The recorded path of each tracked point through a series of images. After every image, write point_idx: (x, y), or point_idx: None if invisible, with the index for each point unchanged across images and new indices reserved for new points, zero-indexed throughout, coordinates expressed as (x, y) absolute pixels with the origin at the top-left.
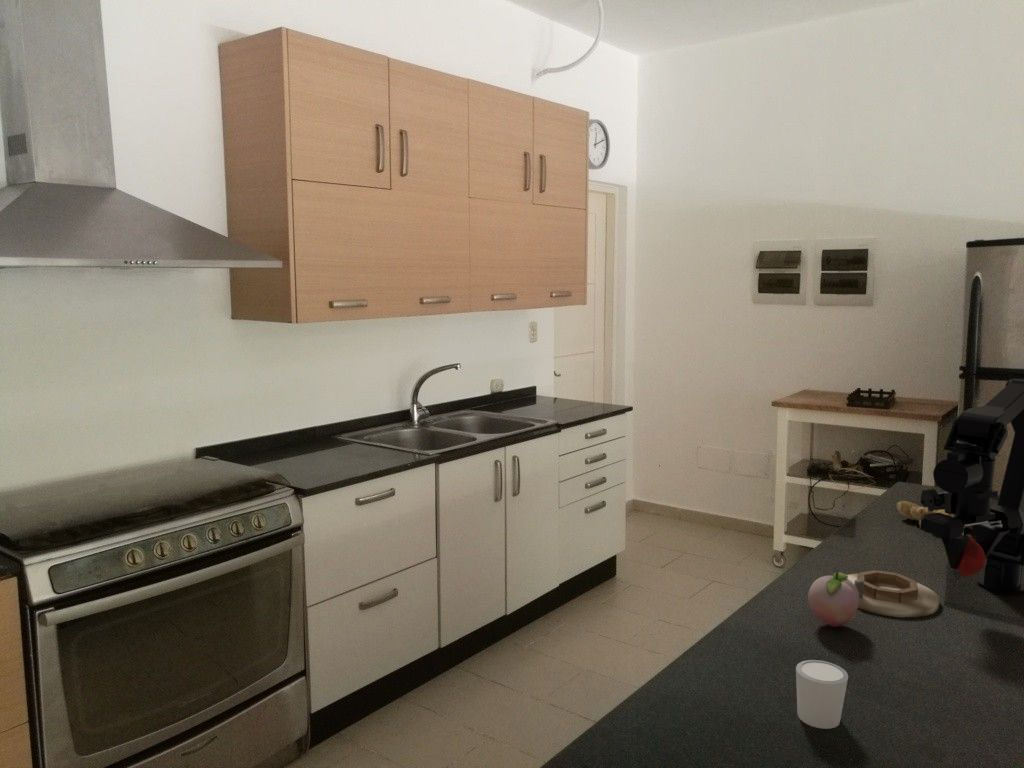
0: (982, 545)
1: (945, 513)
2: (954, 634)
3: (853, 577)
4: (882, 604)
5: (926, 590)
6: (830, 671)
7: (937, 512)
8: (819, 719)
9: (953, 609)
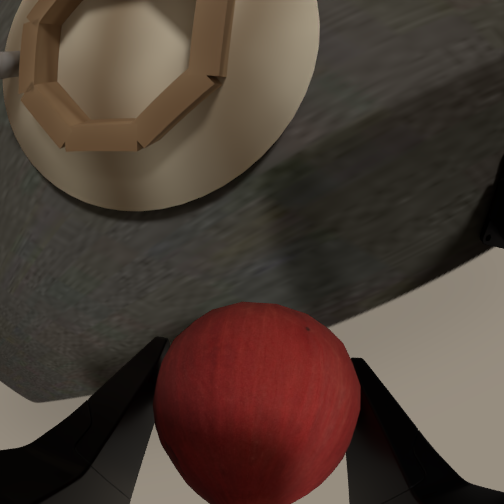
0: (367, 464)
1: None
2: (123, 295)
3: None
4: (38, 131)
5: (276, 95)
6: None
7: None
8: None
9: (260, 210)
